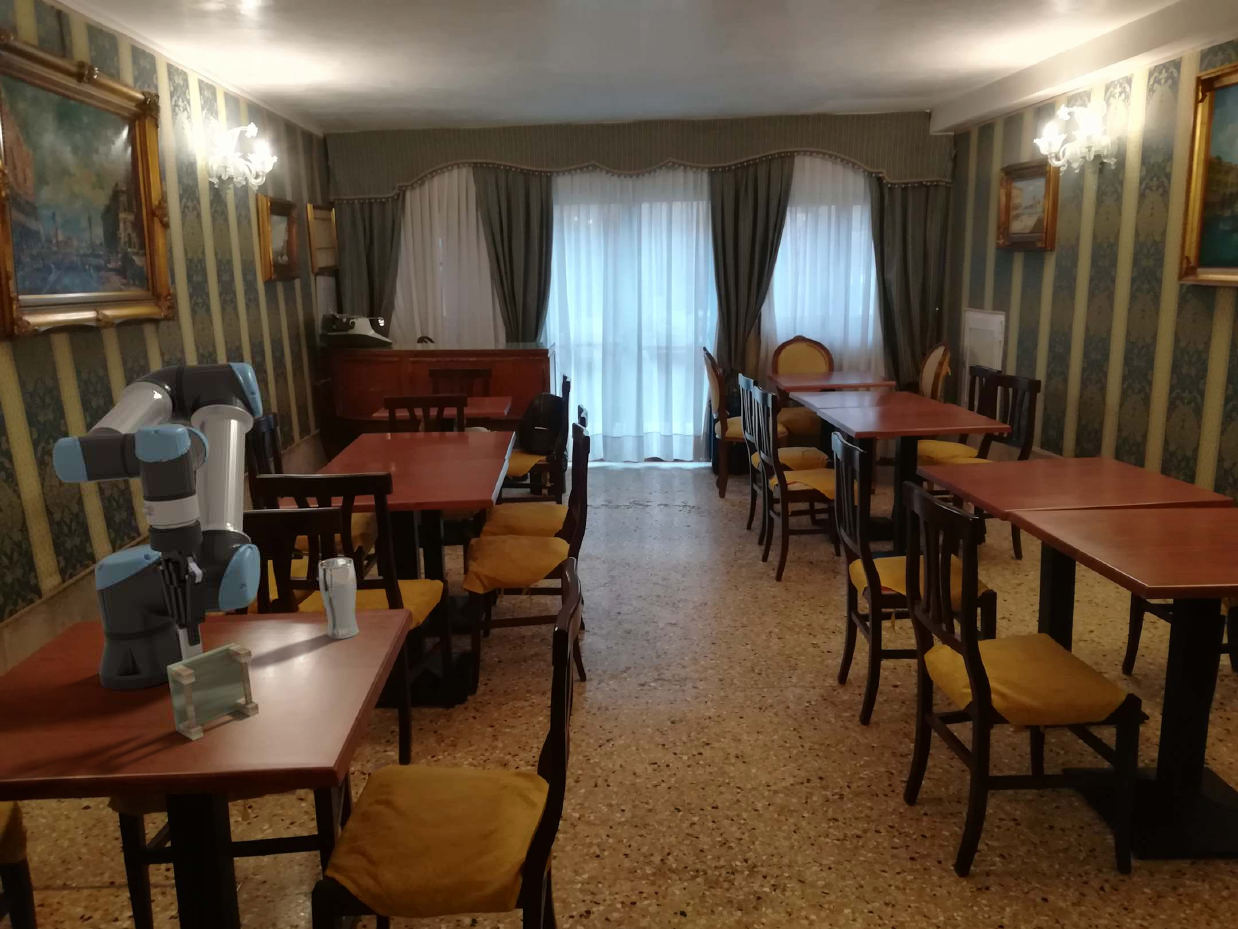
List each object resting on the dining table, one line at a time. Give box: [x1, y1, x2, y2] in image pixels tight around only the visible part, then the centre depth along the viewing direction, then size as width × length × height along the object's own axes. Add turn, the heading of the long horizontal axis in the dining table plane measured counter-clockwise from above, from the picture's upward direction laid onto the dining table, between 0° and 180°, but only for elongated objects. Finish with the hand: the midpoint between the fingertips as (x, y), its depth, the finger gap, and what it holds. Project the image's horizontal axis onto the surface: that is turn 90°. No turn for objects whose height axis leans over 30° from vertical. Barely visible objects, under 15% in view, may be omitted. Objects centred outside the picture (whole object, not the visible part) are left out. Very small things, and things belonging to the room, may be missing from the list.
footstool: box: [167, 642, 260, 741], centre depth 143 cm, size 6×11×11 cm, turn 142°
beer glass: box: [318, 557, 360, 640], centre depth 177 cm, size 7×7×15 cm
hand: (193, 662), depth 145 cm, fingers closed
